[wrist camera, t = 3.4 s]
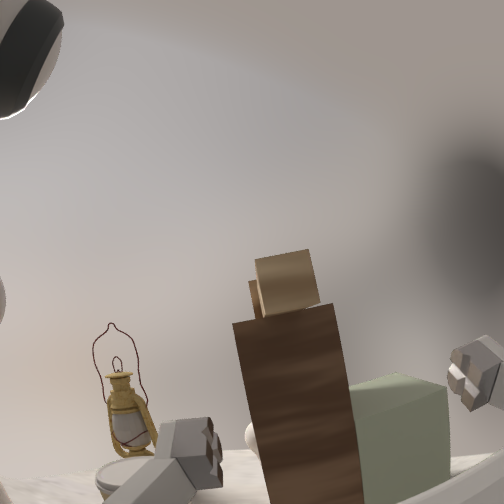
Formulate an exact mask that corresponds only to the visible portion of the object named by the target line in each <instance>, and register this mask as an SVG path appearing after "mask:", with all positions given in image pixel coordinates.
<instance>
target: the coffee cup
mask: <svg viewBox="0 0 504 504" xmlns="http://www.w3.org/2000/svg"><path fill="white" fill-rule="evenodd" d="M149 459H154V456H138V457H130V458H125V459H120V460H116V461H113V462H110V463H108V464H106V465H104V466H102V467H101V468H100V469H98V471H97V472H96V478H95V484H96V486H97V488H98V489H99V490H100V492H101V495H102V497H103V499H104V501H105V500H106V499H107V498H108V497H109V496H111V495H112V494H113V493H114V492H115V491H116V490H117V489H118V488H119V487H120V486H121V485H123V484H124V483H125V482H126V481H127V480H128V479H129V478H130V477H131V476H132V475H133V474H134V473H135V472H136V471H137V470H138V469H140V468H141V467H142V466H143V465H144V464H145V463H146V462H147V461H148V460H149Z"/></svg>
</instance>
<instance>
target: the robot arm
mask: <svg viewBox="0 0 504 504" xmlns="http://www.w3.org/2000/svg"><path fill="white" fill-rule="evenodd" d="M63 26H64V21H63V16H62V12H61V11H60V10H59V9H58V8H57V7H55V6H54V5H53V4H51V3H49V2H48V1H46V0H0V119H7V118H10V117H12V116H14V115H16V114H17V113H19V112H21V111H22V110H24V109H25V108H26V107H27V104H28V103H29V102H30V101H31V100H32V99H33V98H34V97H35V96H36V95H37V94H38V92H39V91H40V90H41V89H42V87H43V86H44V85H45V83H46V82H47V80H48V78H49V77H50V75H51V73H52V71H53V69H54V66H55V64H56V61H57V59H58V55H59V52H60V47H61V38H62V28H63ZM5 306H6V297H5V290H4V286H3V283H2V280H1V278H0V323H1V321H2V319H3V316H4V312H5ZM450 360H451V362H452V365H451V366H450V368H449V369H448V375H447V379H448V384H449V386H450V388H451V390H452V391H453V392H454V393H455V394H458V395H461V402H462V403H463V404H464V405H465V406H466V407H467V409H468V410H469V411H470V412H472V411H474V410H476V409H478V408H479V407H481V406H483V405H485V404H487V403H488V404H490V405H492V406H495V407H497V408H499V409H502V410H504V348H503V347H502V346H501V345H500V344H498V343H497V342H496V341H495V340H493V339H492V338H491V337H490V336H488V335H484V336H482V337H480V338H478V339H476V340H474V341H472V342H469V343H467V344H465V345H463V346H461V347H459V348H456V349H454V350H453V351H452V353H451V357H450ZM222 460H223V459H222V448H221V443H220V440H219V437H218V435H217V433H215V432H213V423H212V420H211V418H210V417H203V418H192V419H182V420H171V421H162V423H161V424H160V429H159V433H158V438H157V443H156V448H155V454H154V459H149V460H148V461H147V462H146V463H145V464H144V465H143V466H142V467H141V468H140V469H138V470H137V471H136V472H135V473H134V474H133V475H132V476H131V477H130V478H129V479H128V480H127V481H126V482H125V483H124V484H123V485H121V486H120V487H119V488H118V489H117V490H116V491H115V492H114V493H113V494H112V495H111V496H109V497H108V498H107V499H106V500H105V501H104V502H103V503H102V504H188V503H189V502H190V500H191V499H192V497H193V496H194V495H195V493H196V492H197V491H196V490H203V489H213V488H222V487H223V471H222V469H221V466H220V463H221V462H222ZM0 504H13V502H12V501H11V499H10V498H9V496H8V495H7V493H6V491H5V489H4V487H3V486H2V484H1V482H0ZM397 504H504V448H502V449H500V450H499V451H497V452H496V453H494V454H493V455H491V456H490V457H488V458H486V459H485V460H483V461H481V462H480V463H478V464H476V465H475V466H473V467H471V468H470V469H468V470H466V471H464V472H462V473H461V474H459V475H457V476H455V477H453V478H451V479H449V480H447V481H446V482H444V483H442V484H440V485H437V486H435V487H433V488H431V489H429V490H427V491H425V492H423V493H420V494H418V495H416V496H414V497H411V498H409V499H407V500H404V501H402V502H399V503H397Z"/></svg>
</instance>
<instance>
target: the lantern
mask: <svg viewBox="0 0 504 504" xmlns="http://www.w3.org/2000/svg"><path fill="white" fill-rule="evenodd" d="M109 324H114V323H109ZM109 324H108V329H109ZM114 327H115V324H114ZM115 328H116V327H115ZM108 329H107V330H106V331H105V332H104V333H103V334H102V335H104V334H105V333H106V332H107V331H108ZM116 329H117V328H116ZM117 330H118V329H117ZM118 331H120V330H118ZM120 332H122V331H120ZM122 333H124V332H122ZM124 334H126V333H124ZM102 335H100V336H99V337H98V338H100V337H101V336H102ZM126 335H127V336H129V335H128V334H126ZM129 337H130V336H129ZM98 338H97V339H98ZM130 338H131V337H130ZM97 339H96V340H97ZM131 339H132V338H131ZM96 340H95V342H96ZM132 341H133V339H132ZM95 342H94V343H95ZM94 343H93V348H94ZM133 344H134V347H135V343H134V341H133ZM93 348H92V349H93ZM135 350H136V347H135ZM136 354H137V358H138V374H139V381H140V385H141V380H140V373H139V357H138V353H137V350H136ZM114 358H116V356H115V357H114ZM114 358H113V361H114ZM117 358H118V357H117ZM93 359H94V352H93ZM118 359H119V358H118ZM119 360H120V359H119ZM113 361H112V365H113ZM120 361H121V360H120ZM94 363H95V360H94ZM95 366H96V364H95ZM121 366H122V361H121ZM113 368H114V365H113ZM96 369H97V367H96ZM122 370H123V369H122ZM97 371H98V370H97ZM114 371H115V369H114ZM118 371H119V370H117V372H115V373H112V374H109V375H106V376H105V378H110V383H111V384H112V385H113V390H111V391H110V393H111V395H110V396H109V398H108V400H107V403H106V401H105V397H104V387H103V383H102V378H101V375H100V373H99V371H98V373H99V375H100V379H101V383H102V387H103V397H104V401H105V403H106V404H107V408H108V417H109V425H110V431H111V438H112V442H113V446H114V449H115V451H116V452H117V453H118V454H119V455H120V456H121V457H123V458H130V457H138V456H154V453H152V452H150V451H148V450H146V448H145V447H147V446H148V445H149V444H150V443H151V442H150V441H151V440H152V442H153V445H154V447H155V448H156V443H157V438H158V433H157V431H156V429H155V426H154V423H153V421H152V419H151V416H150V413H149V411H148V408H147V404H148V398H147V395H146V393H145V390H144V389H143V387H142V385H141V387H142V389H143V391H144V393H145V395H146V398H147V404H145V401H144V400H143V399H142V398H141V397H140V396H138V395H137V394H135V390H134V388H130V384H129V382H130V377H129V376H130V375H133V373H132V372H123V371H122V372H120V371H119V372H118ZM120 445H121V446H122V447H123V448H125V449H129V453H128V452H125V451H123V449H122V448H121V446H120Z"/></svg>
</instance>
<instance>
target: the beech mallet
mask: <svg viewBox="0 0 504 504" xmlns="http://www.w3.org/2000/svg"><path fill="white" fill-rule="evenodd" d="M255 267H256V278H257V280H252V281H249V287H250V292H251V298H252V303H253V307H254V313H255V318H256V319H259V318H264V317H270V316H275V315H279V314H284V313H289V312H294V311H299V310H303V309H305V308H308V307H310V306H313V305H316V304H318V303H320V298H319V293H318V289H317V284H316V279H315V275H314V270H313V266H312V262H311V257H310V253H309V249H305V250H301V251H296V252H290V253H285V254H280V255H275V256H269V257H264V258H259V259H255Z"/></svg>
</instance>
